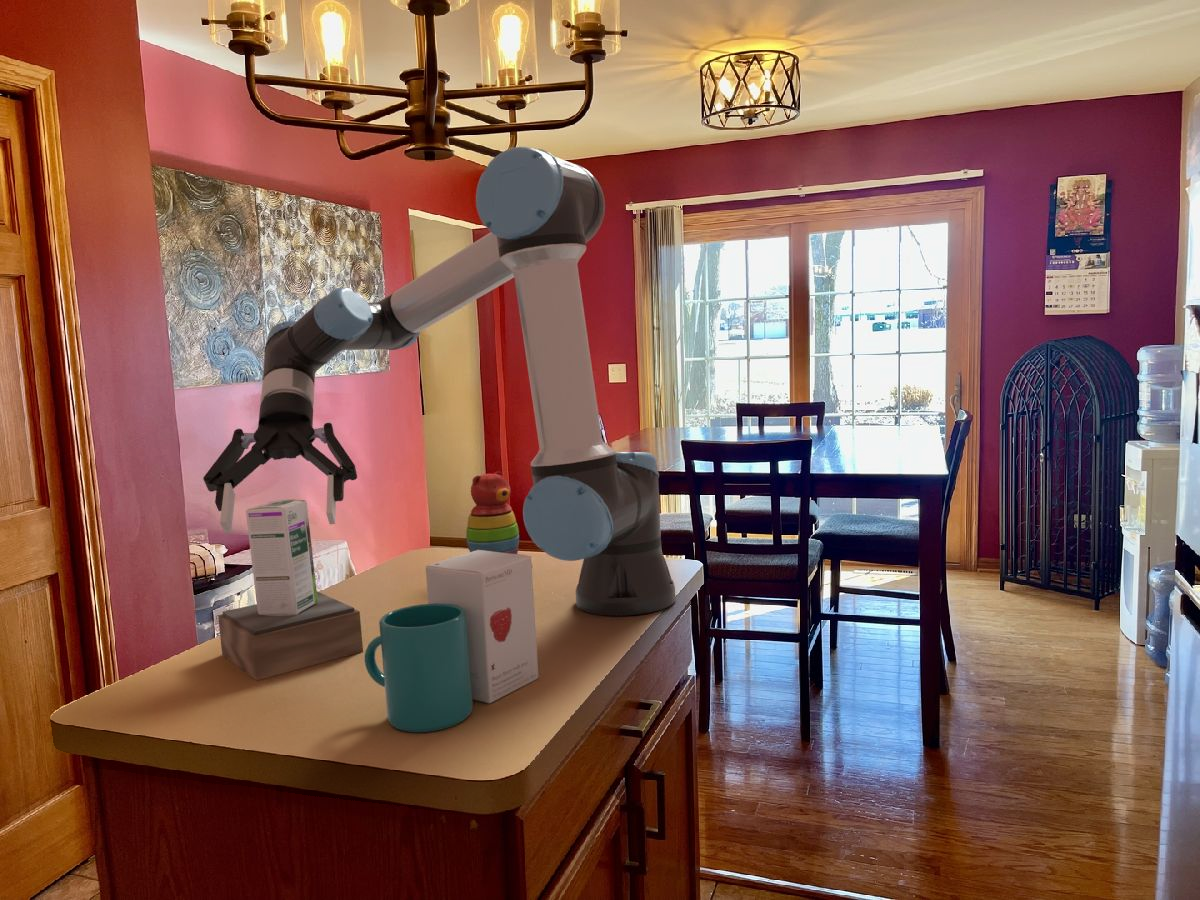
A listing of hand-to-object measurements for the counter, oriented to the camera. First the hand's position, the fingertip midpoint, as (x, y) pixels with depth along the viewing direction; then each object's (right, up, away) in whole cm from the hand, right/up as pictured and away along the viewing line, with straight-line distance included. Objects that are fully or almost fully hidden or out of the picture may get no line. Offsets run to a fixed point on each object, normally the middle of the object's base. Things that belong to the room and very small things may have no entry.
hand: (278, 523), depth 118 cm
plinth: (+2, -17, 0) cm, 18 cm away
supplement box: (+30, -18, -16) cm, 38 cm away
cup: (+24, -19, -23) cm, 38 cm away
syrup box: (+1, -12, -1) cm, 12 cm away
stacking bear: (+25, -12, +39) cm, 48 cm away
